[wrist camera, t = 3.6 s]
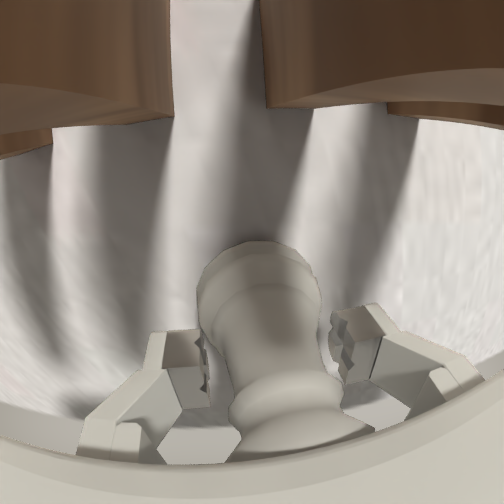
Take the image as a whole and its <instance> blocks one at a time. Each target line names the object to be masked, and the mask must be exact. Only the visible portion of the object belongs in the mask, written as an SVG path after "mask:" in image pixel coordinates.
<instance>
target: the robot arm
mask: <svg viewBox="0 0 504 504" xmlns="http://www.w3.org/2000/svg"><path fill="white" fill-rule="evenodd" d="M330 323H331V324H332V326H333V328H332V330H331V331H330V332H329V336H328V346H329V351H330V355H331V357H332V359H333V361H335V362H337V363H339V367H338V372H339V374H340V376H341V378H342V380H343V382H344V384H345V385H348V384H353V383H357V382H361V381H365V380H369V379H370V381H371V382H372V383H374V384H375V385H377V386H378V387H380V388H381V389H383V390H384V391H386V392H387V393H388V394H390V395H391V396H393V397H394V398H396V399H397V400H399V401H400V402H402V403H403V404H405V405H406V406H408V407H409V408H411V410H410V411H409V413H408V415H407V416H406V418H405V420H404V421H403V422H401V423H398V424H396V425H393V426H390V427H388V428H385V429H382V430H379V431H376V432H373V433H370V434H367V435H364V436H361V437H358V438H355V439H351V440H348V441H345V442H341V443H337V444H334V445H330V446H326V447H322V448H318V449H313V450H309V451H304V452H299V453H295V454H289V455H284V456H278V457H272V458H265V459H258V460H250V461H241V462H231V463H218V464H198V465H167V464H166V462H165V461H164V459H163V458H162V457H161V455H160V454H159V452H158V451H157V450H156V449H157V447H158V446H159V444H160V442H161V441H162V440H163V439H164V437H165V435H166V434H167V433H168V431H169V430H170V428H171V427H172V426H173V424H174V423H175V421H176V420H177V418H178V417H179V415H180V414H181V412H182V409H193V408H205V407H211V405H210V388H209V384H208V380H209V379H210V377H209V364H208V357H207V352H206V349H204V338H203V334H202V330H201V329H188V330H170V331H154V332H152V333H151V334H150V337H149V341H148V345H147V350H146V354H145V359H144V364H143V368H142V370H137V371H136V372H135V373H134V374H133V375H132V376H130V377H129V378H128V379H127V380H126V381H125V382H124V383H123V384H122V385H121V386H120V387H119V388H117V389H116V390H115V391H114V392H113V393H112V394H111V395H110V396H109V397H108V398H107V399H105V400H104V401H103V402H102V403H101V404H100V405H99V406H98V407H97V408H96V409H95V410H93V411H92V412H91V413H90V414H89V415H88V416H87V417H86V418H85V421H84V425H83V428H82V432H81V436H80V440H79V444H78V448H77V452H76V455H72V454H67V453H61V452H57V451H53V450H49V449H45V448H41V447H38V446H34V445H31V444H27V443H24V442H21V441H17V440H14V439H11V438H8V437H5V436H3V435H0V504H504V369H503V370H501V371H500V372H498V373H497V374H495V375H493V376H492V377H490V378H489V379H487V380H485V379H484V378H483V377H482V376H481V375H480V373H479V372H478V371H477V370H476V369H475V367H474V366H473V365H472V364H471V362H470V361H469V360H468V359H467V358H466V356H465V355H462V354H460V353H457V352H455V351H452V350H450V349H448V348H445V347H443V346H440V345H438V344H436V343H433V342H431V341H428V340H426V339H424V338H421V337H419V336H417V335H414V334H412V333H409V332H407V331H402V332H401V331H400V329H399V328H398V327H397V326H396V325H395V323H394V322H393V321H392V320H391V318H390V317H389V316H388V315H387V314H386V312H385V311H384V310H383V309H382V307H381V306H380V305H379V304H378V303H371V304H366V305H362V306H359V307H354V308H349V309H343V310H338V311H333V312H332V314H331V320H330Z"/></svg>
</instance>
